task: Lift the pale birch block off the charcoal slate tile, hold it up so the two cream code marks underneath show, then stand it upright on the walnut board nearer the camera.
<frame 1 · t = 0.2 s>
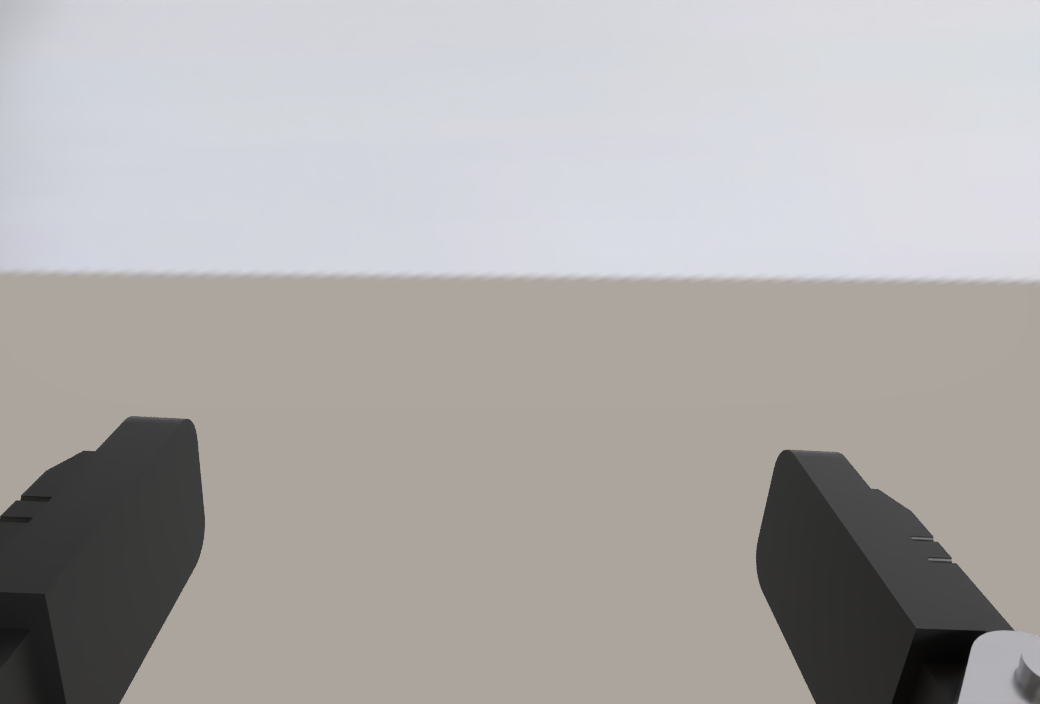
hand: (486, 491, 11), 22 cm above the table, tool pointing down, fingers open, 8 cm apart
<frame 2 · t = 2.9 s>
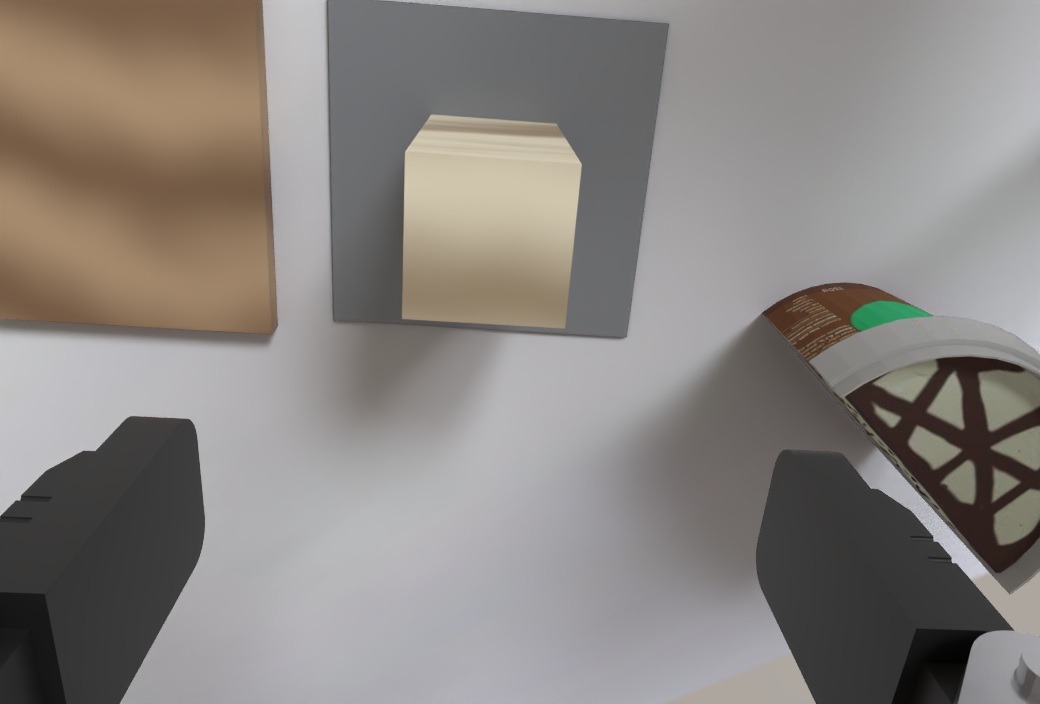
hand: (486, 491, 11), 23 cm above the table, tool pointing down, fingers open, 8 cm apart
code tile: (490, 180, 33), on the table
walnut board: (119, 155, 32), on the table
birch block: (490, 181, 32), resting on code tile
food container: (874, 338, 36), on the table
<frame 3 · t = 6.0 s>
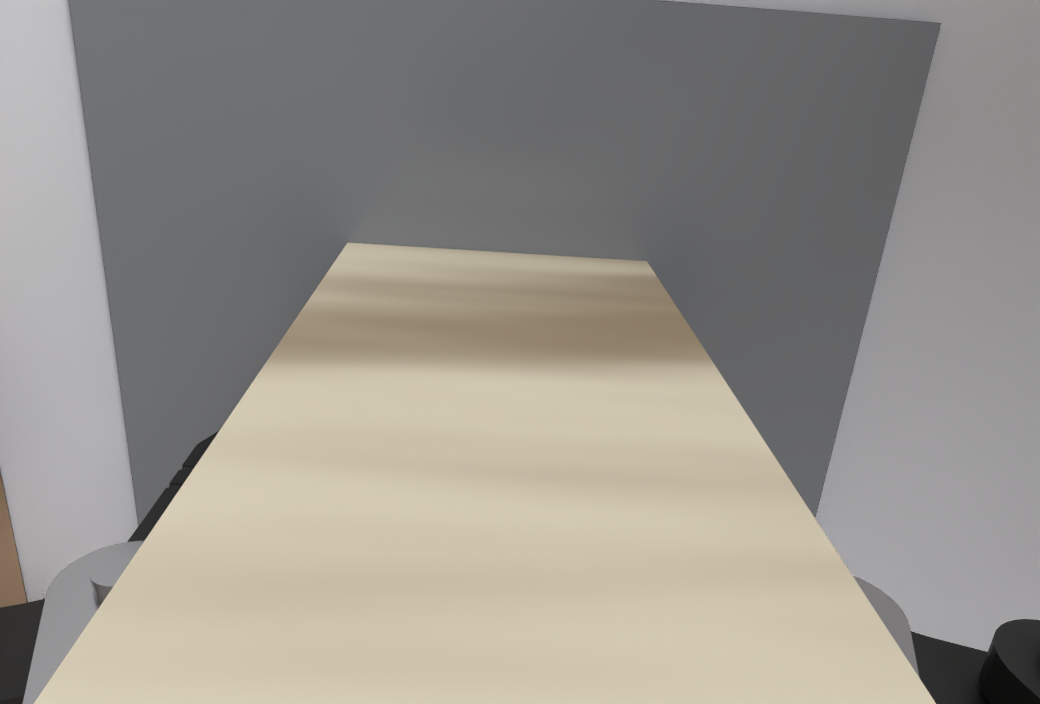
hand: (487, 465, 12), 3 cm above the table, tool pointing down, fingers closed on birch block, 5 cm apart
code tile: (489, 382, 14), on the table
birch block: (490, 387, 14), resting on code tile, touching gripper
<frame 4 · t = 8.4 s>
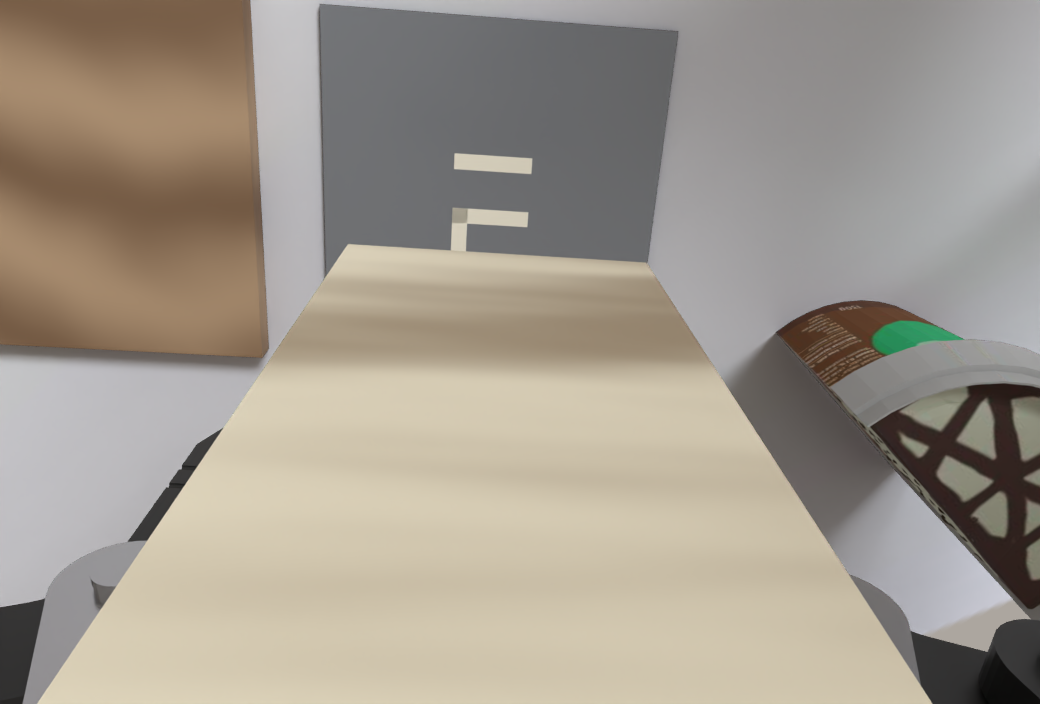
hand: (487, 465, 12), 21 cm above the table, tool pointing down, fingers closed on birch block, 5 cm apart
code tile: (491, 196, 31), on the table
walnut board: (101, 171, 30), on the table
birch block: (490, 388, 14), point 18 cm above the table, touching gripper
food container: (892, 357, 35), on the table
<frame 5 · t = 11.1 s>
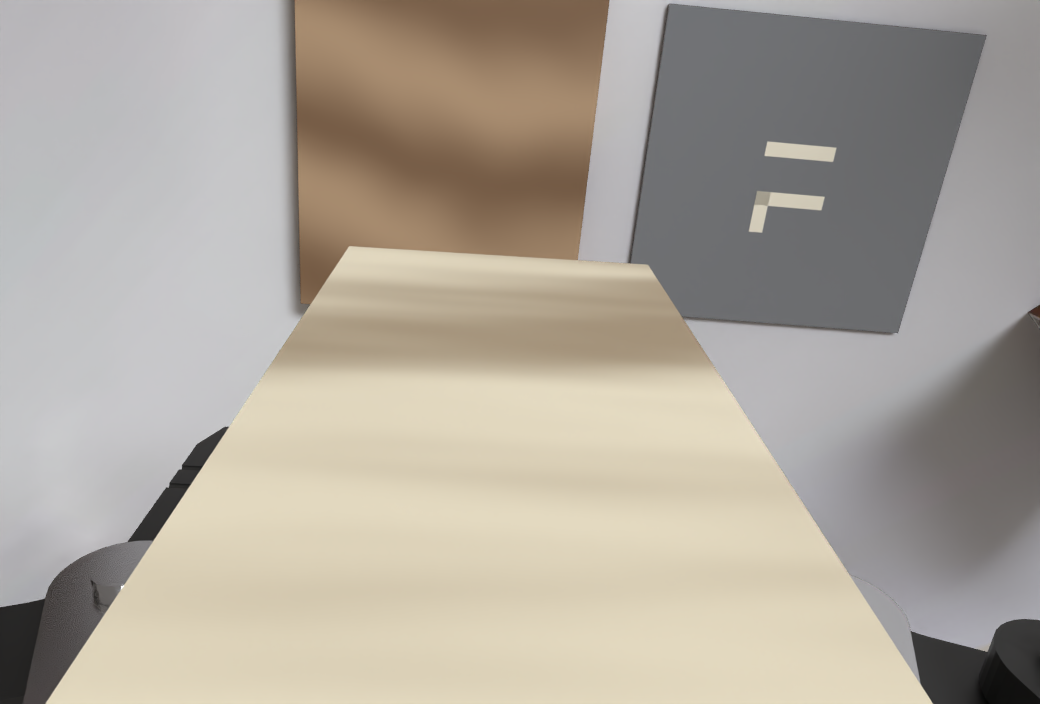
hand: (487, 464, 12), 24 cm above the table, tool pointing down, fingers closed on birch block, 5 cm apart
code tile: (791, 181, 34), on the table
walnut board: (446, 151, 33), on the table
birch block: (491, 390, 14), point 21 cm above the table, touching gripper
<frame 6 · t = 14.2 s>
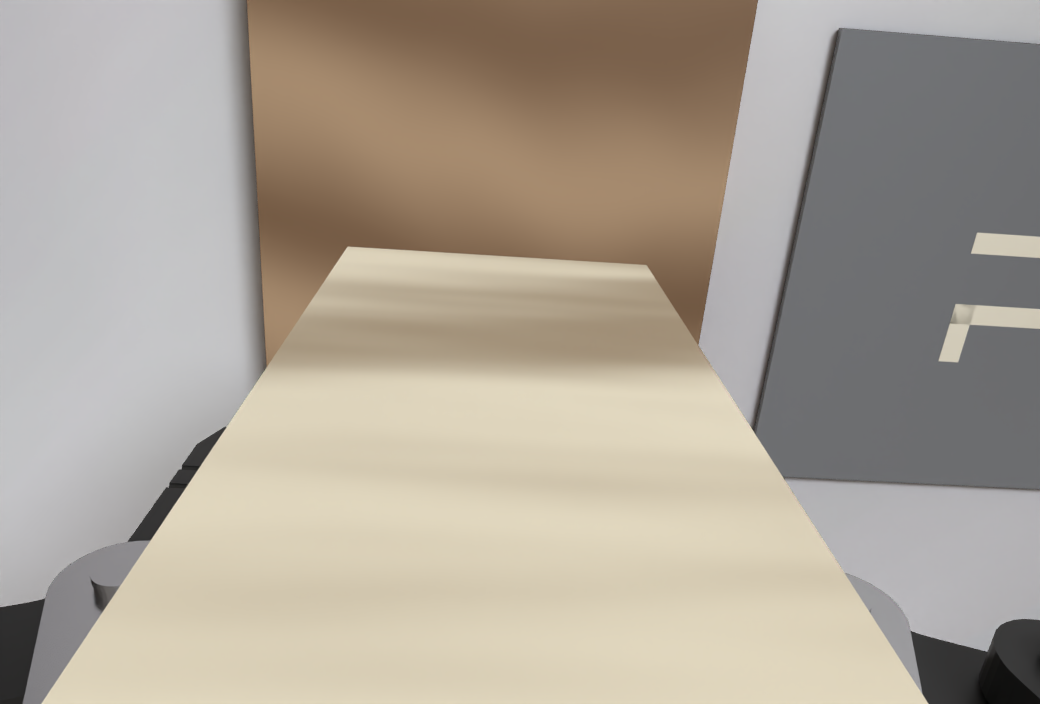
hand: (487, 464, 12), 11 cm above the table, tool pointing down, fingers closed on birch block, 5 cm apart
code tile: (1006, 288, 23), on the table
walnut board: (488, 255, 22), on the table
birch block: (490, 391, 14), point 9 cm above the table, touching gripper
when the fingers open (5 cm above the table, at t = 16.7 s): birch block drops 1 cm, resting on walnut board.
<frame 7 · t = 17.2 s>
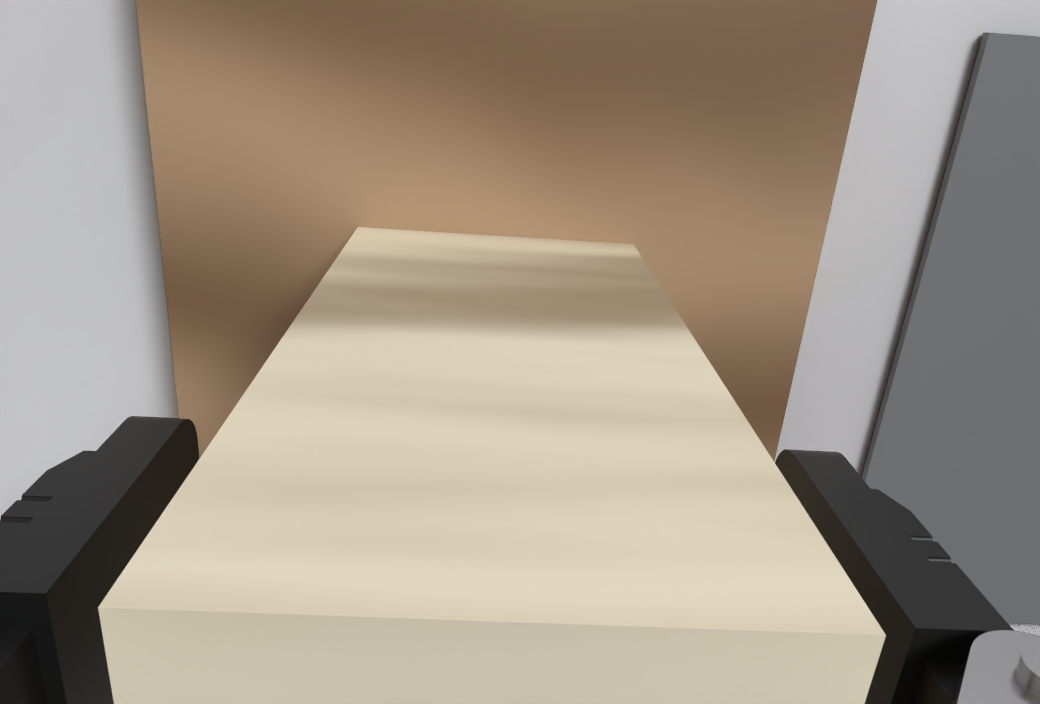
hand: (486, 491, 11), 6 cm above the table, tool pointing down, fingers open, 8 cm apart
walnut board: (489, 342, 16), on the table
birch block: (489, 362, 15), point 1 cm above the table, touching walnut board
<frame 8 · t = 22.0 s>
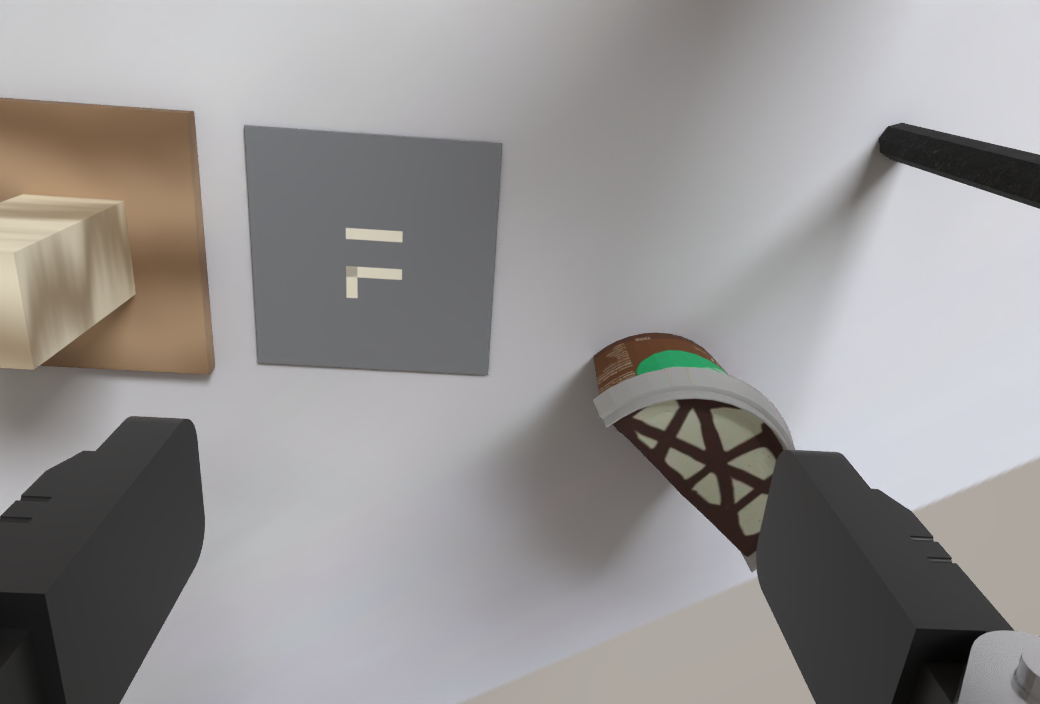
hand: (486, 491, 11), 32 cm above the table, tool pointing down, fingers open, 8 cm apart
code tile: (374, 257, 42), on the table
solar garden light: (894, 140, 41), on the table
walnut board: (89, 240, 42), on the table
birch block: (80, 245, 41), point 1 cm above the table, touching walnut board
food container: (684, 374, 46), on the table
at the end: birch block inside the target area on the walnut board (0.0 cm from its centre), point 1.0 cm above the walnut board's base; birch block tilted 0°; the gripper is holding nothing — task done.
